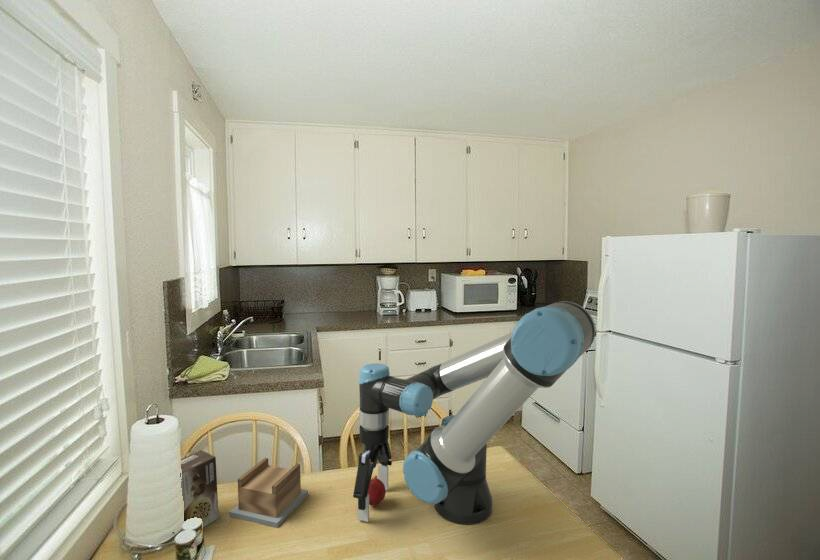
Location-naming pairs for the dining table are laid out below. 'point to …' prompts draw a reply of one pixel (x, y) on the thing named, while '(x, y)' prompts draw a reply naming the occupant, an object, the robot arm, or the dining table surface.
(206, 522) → the coffee box
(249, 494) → the wooden channel block
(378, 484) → the onion
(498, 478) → the dining table surface
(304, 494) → the base board
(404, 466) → the robot arm
